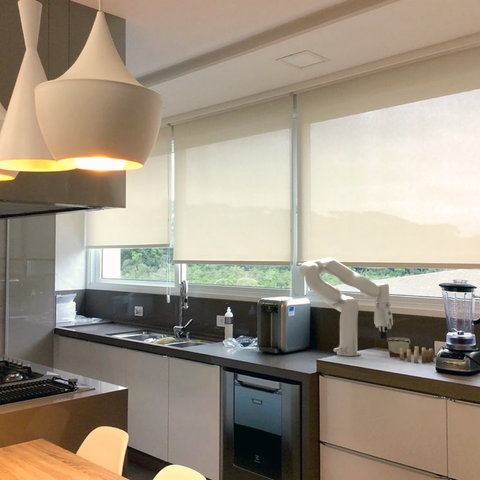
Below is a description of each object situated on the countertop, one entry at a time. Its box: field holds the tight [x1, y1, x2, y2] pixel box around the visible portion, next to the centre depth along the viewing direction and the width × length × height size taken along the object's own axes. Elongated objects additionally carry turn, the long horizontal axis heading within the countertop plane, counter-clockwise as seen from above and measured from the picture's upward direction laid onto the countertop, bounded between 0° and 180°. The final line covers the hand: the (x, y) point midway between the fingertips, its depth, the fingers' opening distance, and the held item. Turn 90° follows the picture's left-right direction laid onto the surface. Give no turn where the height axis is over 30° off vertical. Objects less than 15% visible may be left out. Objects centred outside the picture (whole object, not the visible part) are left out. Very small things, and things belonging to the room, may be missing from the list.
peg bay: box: [399, 345, 435, 364], centre depth 287 cm, size 14×14×6 cm
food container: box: [386, 336, 412, 359], centre depth 298 cm, size 12×6×10 cm, turn 74°
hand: (383, 338), depth 308 cm, fingers closed
